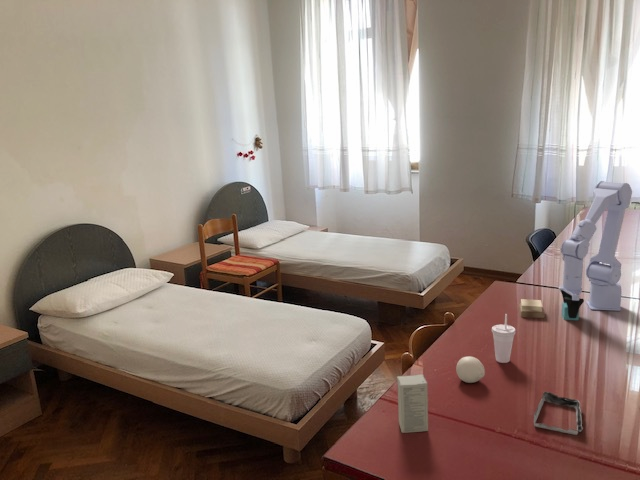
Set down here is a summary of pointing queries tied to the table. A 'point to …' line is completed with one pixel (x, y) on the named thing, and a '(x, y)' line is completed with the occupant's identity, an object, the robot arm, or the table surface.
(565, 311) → the teal block
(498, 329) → the smoothie
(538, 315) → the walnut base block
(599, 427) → the table surface
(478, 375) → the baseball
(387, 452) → the table surface
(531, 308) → the maple top block
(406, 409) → the skincare box
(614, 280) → the robot arm
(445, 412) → the table surface
